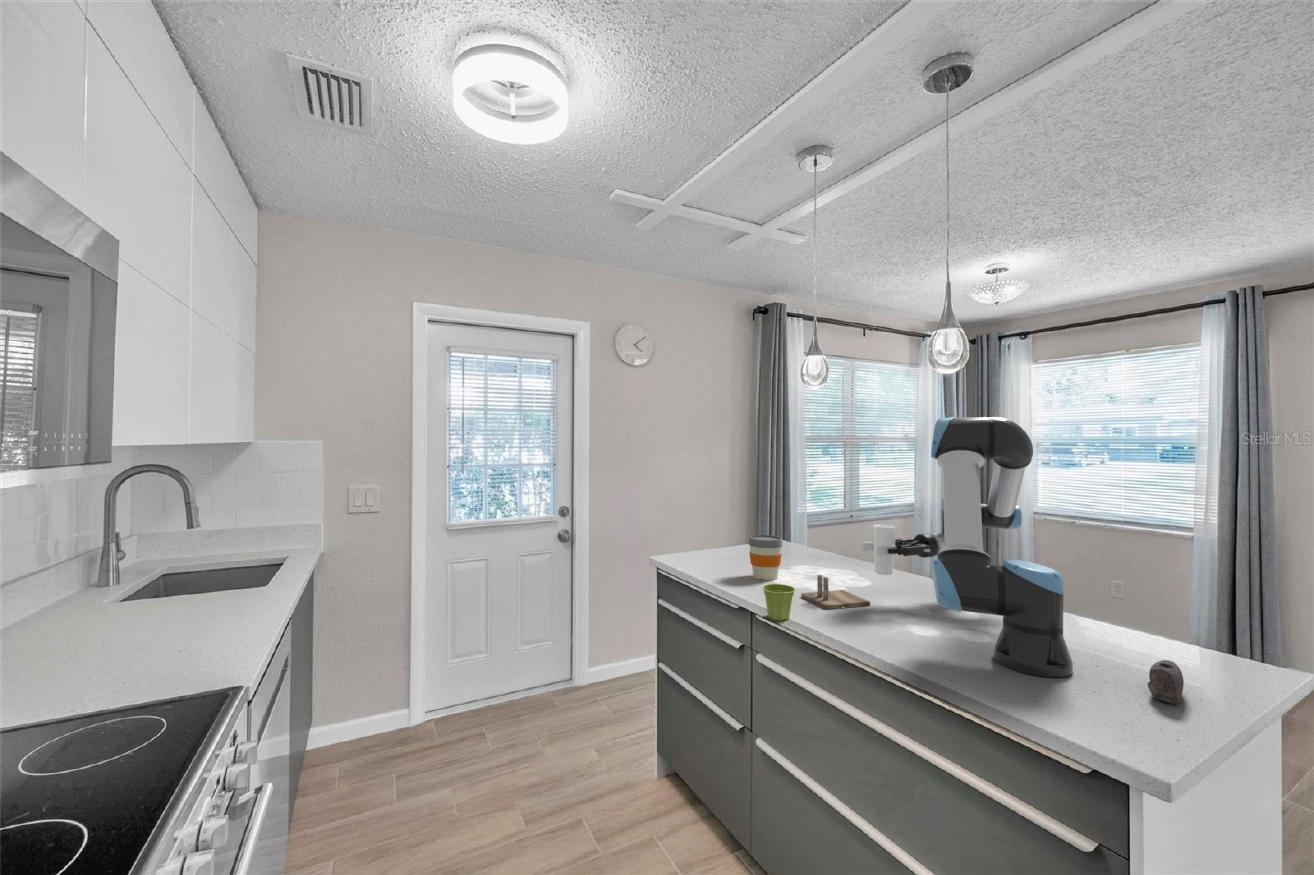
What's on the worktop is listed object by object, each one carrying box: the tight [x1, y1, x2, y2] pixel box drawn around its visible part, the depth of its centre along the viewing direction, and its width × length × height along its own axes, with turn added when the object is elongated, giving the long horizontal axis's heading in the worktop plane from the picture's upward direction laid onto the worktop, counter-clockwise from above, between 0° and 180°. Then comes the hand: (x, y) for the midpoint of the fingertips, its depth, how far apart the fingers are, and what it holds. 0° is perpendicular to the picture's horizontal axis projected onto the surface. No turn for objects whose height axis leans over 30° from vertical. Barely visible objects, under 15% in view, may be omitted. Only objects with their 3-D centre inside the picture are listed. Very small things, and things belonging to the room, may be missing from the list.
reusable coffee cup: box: [748, 534, 783, 581], centre depth 207 cm, size 13×13×15 cm
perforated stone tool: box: [1147, 659, 1185, 705], centre depth 113 cm, size 15×5×7 cm, turn 132°
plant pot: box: [761, 583, 796, 622], centre depth 160 cm, size 9×9×9 cm
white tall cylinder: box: [871, 523, 897, 576], centre depth 173 cm, size 7×7×15 cm
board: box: [800, 574, 871, 610], centre depth 177 cm, size 16×14×8 cm
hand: (870, 548), depth 171 cm, fingers closed on white tall cylinder, 6 cm apart
